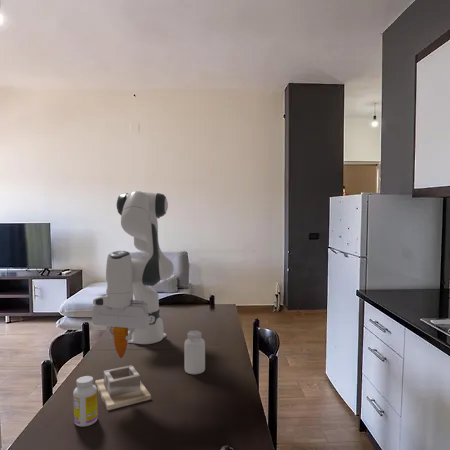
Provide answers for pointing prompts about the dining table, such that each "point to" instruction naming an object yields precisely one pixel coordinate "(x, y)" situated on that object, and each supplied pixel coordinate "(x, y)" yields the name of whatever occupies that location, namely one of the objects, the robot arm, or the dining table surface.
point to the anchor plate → (121, 387)
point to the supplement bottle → (85, 402)
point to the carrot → (120, 340)
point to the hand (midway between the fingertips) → (120, 339)
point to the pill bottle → (194, 353)
